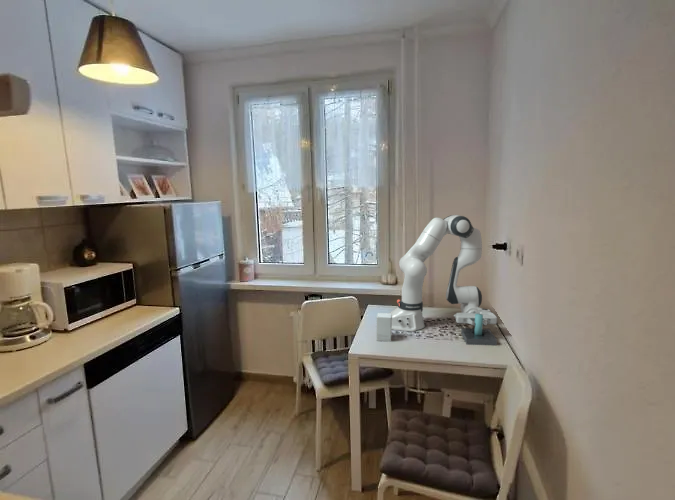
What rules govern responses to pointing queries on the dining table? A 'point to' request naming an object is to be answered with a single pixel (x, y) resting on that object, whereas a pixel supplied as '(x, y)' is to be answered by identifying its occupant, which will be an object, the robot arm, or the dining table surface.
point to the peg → (478, 324)
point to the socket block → (478, 337)
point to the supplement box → (384, 326)
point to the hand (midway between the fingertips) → (479, 323)
